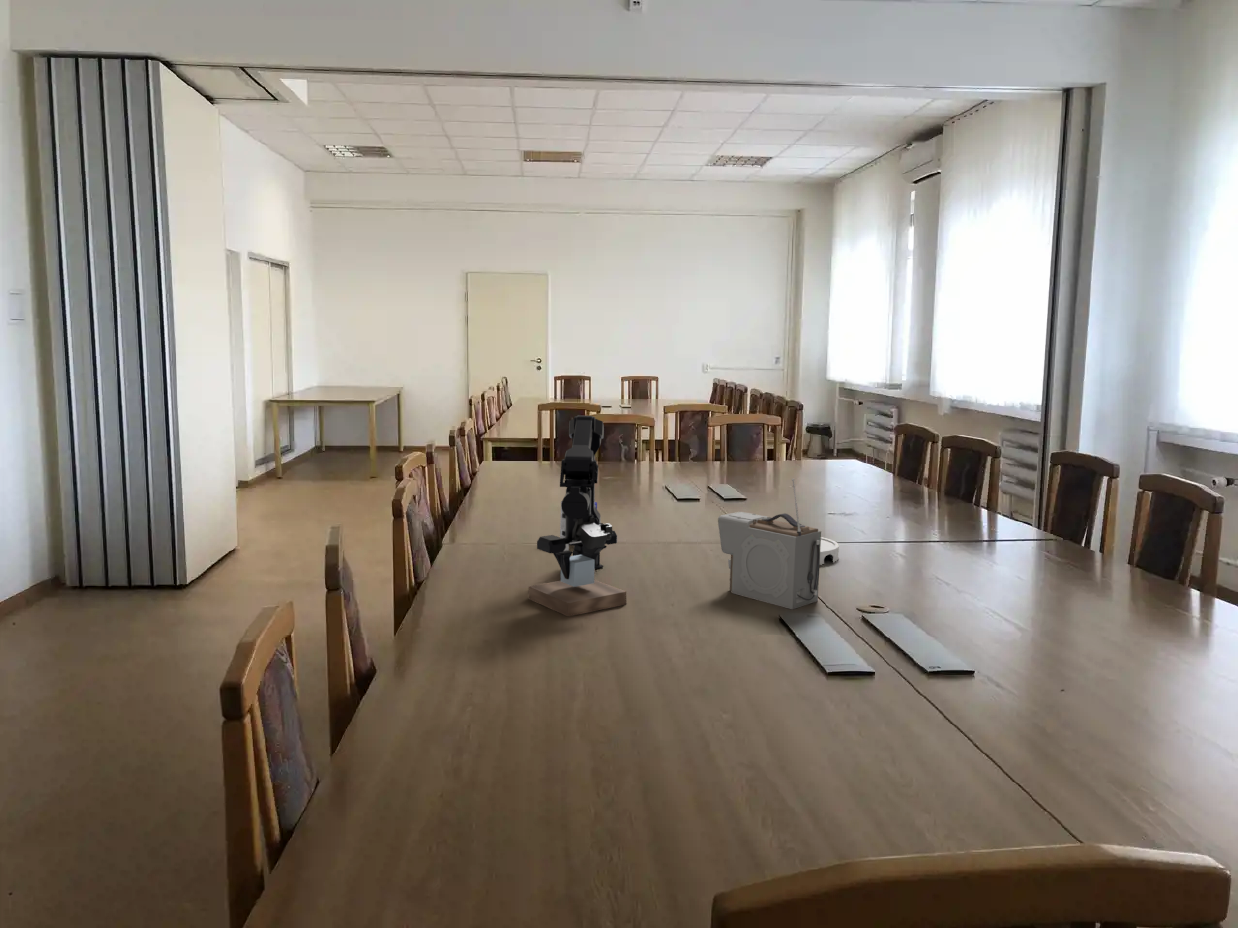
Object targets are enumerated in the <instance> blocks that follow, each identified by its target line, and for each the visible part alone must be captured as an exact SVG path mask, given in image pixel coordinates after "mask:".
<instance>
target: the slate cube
mask: <svg viewBox="0 0 1238 928" xmlns="http://www.w3.org/2000/svg"><path fill="white" fill-rule="evenodd" d="M594 564H595V560H594V559H591V558H589V557H586V556H583V555H576V556H573V555H571V556H570V574H569V579H565V577H564V575H563V573H562V570H561V569H560V581H561V582H563V583H566V584H568V585H571V586H573V587H576V586H582V585H587V584H592V583H594V579H595V569H594Z"/></svg>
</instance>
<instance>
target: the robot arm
mask: <svg viewBox="0 0 1238 928" xmlns="http://www.w3.org/2000/svg"><path fill="white" fill-rule="evenodd" d="M568 425H569V426H568V428H569V429H568V437H569V438H570V439H571V440H572V441H571V442H572V443H571V444H572V446H571V448H569V449H567V450H565V451H566V452H565V455H564V459H563V458H562V459H561V462H560V463H561V464H560V465H561V466H560V478H559V488H566V489H565V494H564V496H563V499H562V503H561V502H560V508H561V507H562V511H563V513H562V518H565V531H562V535H563V536H565V538H560V536H557V535H554V534H550V535H549V534H548V535H543V536H542V535H541V536H539V537H538V539H537V541H536V549H537V550H539V551H542V552H544V553H548V554H553V556H554V558H555V560H556V562H557V563H558V565H559V568H560V571H561V570H562V573H563V575H564V577H565V579H569V574H570V556H576V555H583V556H586V557H589V558H591V559H594V560H595V564H594V570H595V569H601V568H604V565H603V564H601V551H603V550H605V549H607V547H608V546H607V545H614V544H617V543H618V535H617V533H616V531H615V530H614V529H613V525H612V524H611V523H609V522H608V523H603V522H601V519H602V517H601V513H600V512H599V511H598V508H597V509H596V507H595V502H596V501H595V500H596V498H595V497H596V495H595V493H596V491H595V490H596V488H595V487H596V484H598V479H599V465H598V463H597V460H596V454H597V452H598V451H599V450H600V448H601V443H602V439H604V436H605V435H604V434H605V433H604V432H605V431H604V430H605V428H604V427H605V426H604V421H602V420H600V419H598V418H596V417H595V416H593V415H579V414H578V415H577V416H574V418H572V419H570V420H569V423H568ZM570 546H573V550H572V551H571V550H570Z"/></svg>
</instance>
